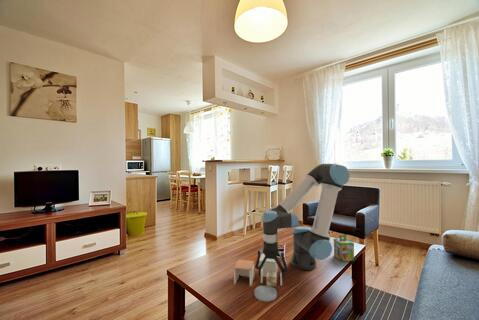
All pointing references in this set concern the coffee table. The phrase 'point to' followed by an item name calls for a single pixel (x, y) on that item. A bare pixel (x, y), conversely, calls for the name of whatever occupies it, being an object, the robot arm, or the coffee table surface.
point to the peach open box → (244, 270)
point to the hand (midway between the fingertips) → (271, 282)
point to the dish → (265, 293)
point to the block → (271, 279)
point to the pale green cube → (268, 265)
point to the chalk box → (343, 249)
